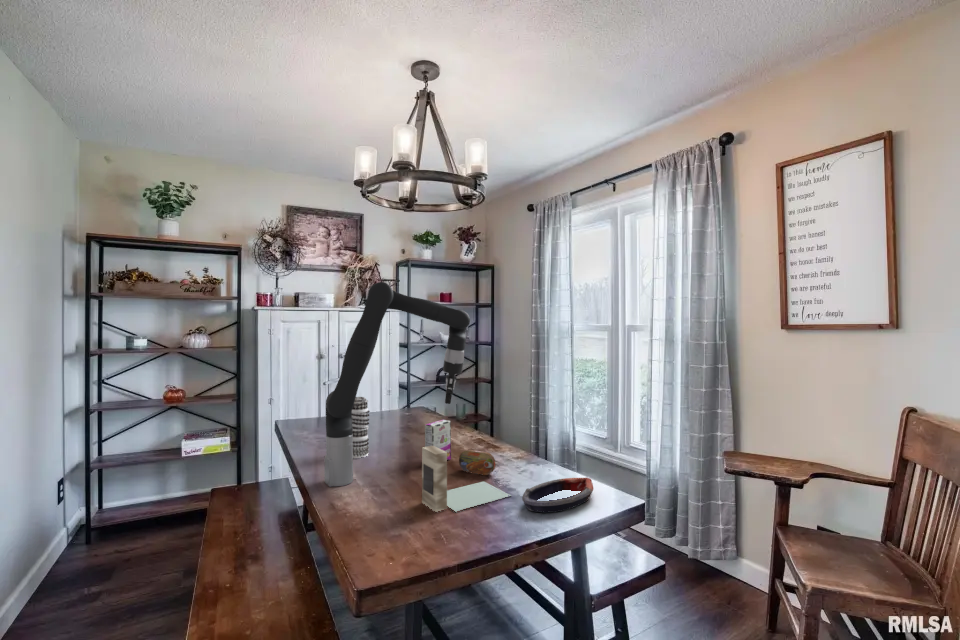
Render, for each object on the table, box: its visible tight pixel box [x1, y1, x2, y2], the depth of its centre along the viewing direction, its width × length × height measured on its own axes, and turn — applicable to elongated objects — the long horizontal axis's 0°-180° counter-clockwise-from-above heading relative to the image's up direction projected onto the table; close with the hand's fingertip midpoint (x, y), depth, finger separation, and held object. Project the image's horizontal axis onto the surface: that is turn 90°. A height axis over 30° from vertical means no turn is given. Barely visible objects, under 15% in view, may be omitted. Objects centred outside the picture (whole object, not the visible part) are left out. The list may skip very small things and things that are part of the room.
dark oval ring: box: [521, 477, 594, 513], centre depth 150 cm, size 16×31×5 cm, turn 126°
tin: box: [458, 449, 496, 476], centre depth 177 cm, size 15×3×8 cm, turn 62°
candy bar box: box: [424, 419, 452, 461], centre depth 190 cm, size 11×5×16 cm, turn 143°
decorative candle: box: [352, 396, 371, 459], centre depth 199 cm, size 9×9×25 cm
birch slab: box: [421, 446, 448, 513], centre depth 146 cm, size 4×9×18 cm, turn 35°
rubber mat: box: [447, 481, 512, 513], centre depth 154 cm, size 22×16×1 cm
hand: (447, 400), depth 181 cm, fingers open, 8 cm apart
